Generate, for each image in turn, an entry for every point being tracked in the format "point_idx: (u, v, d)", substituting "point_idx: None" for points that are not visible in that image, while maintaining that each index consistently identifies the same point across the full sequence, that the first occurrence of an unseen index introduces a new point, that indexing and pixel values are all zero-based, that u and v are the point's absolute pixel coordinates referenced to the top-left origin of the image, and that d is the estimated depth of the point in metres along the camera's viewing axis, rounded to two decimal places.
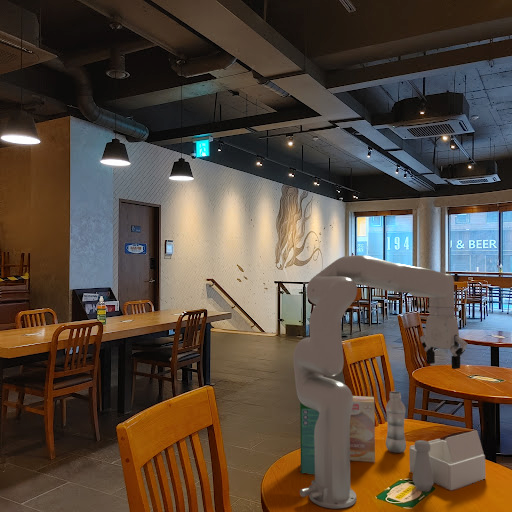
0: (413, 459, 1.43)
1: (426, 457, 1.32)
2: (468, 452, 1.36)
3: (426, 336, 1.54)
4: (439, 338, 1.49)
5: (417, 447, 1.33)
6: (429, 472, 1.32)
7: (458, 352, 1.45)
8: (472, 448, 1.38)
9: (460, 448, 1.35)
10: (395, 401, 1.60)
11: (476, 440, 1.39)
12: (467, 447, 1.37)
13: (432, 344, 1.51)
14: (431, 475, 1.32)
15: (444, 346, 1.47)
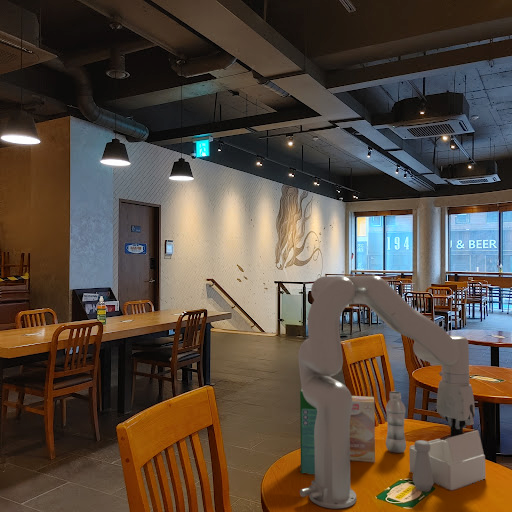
0: (413, 459, 1.43)
1: (426, 457, 1.32)
2: (468, 452, 1.36)
3: (438, 403, 1.42)
4: (453, 407, 1.37)
5: (417, 447, 1.33)
6: (429, 472, 1.32)
7: (461, 425, 1.37)
8: (472, 448, 1.37)
9: (461, 448, 1.35)
10: (395, 401, 1.60)
11: (477, 440, 1.39)
12: (467, 447, 1.37)
13: (445, 413, 1.40)
14: (431, 475, 1.32)
15: (458, 417, 1.36)
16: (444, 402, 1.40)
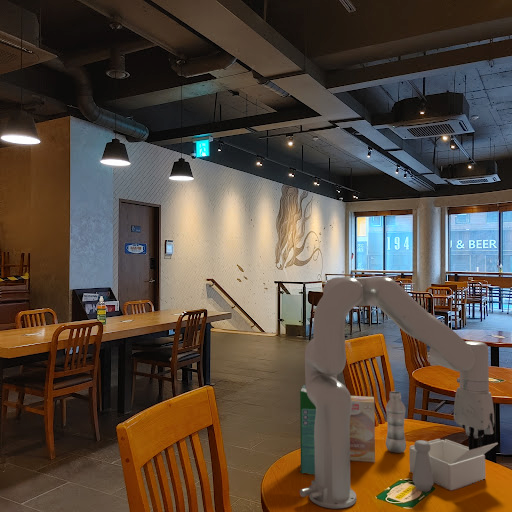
0: (413, 459, 1.43)
1: (426, 457, 1.32)
2: (472, 456, 1.35)
3: (455, 411, 1.37)
4: (472, 416, 1.32)
5: (417, 447, 1.33)
6: (429, 472, 1.32)
7: (479, 434, 1.32)
8: (479, 453, 1.36)
9: (469, 455, 1.33)
10: (395, 401, 1.60)
11: (489, 448, 1.36)
12: (475, 453, 1.34)
13: (463, 422, 1.34)
14: (431, 475, 1.32)
15: (478, 426, 1.30)
16: (462, 410, 1.35)
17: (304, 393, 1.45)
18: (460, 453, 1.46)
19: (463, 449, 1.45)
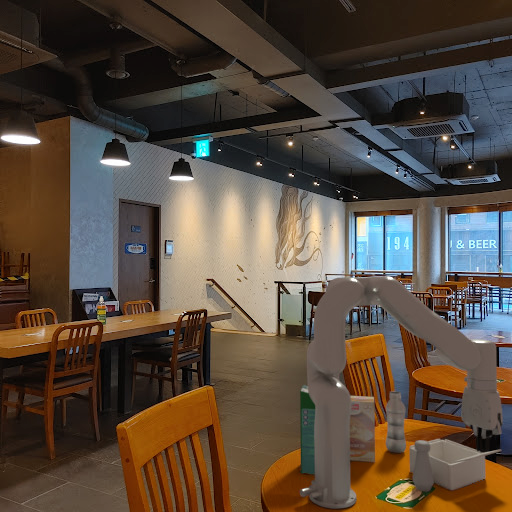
0: (413, 459, 1.43)
1: (426, 457, 1.32)
2: None
3: (463, 411, 1.34)
4: (479, 416, 1.30)
5: (417, 447, 1.33)
6: (429, 472, 1.32)
7: (487, 434, 1.30)
8: None
9: None
10: (395, 401, 1.60)
11: None
12: None
13: (470, 422, 1.32)
14: (431, 475, 1.32)
15: (485, 426, 1.28)
16: (469, 410, 1.32)
17: (304, 393, 1.45)
18: (460, 453, 1.46)
19: (463, 449, 1.45)
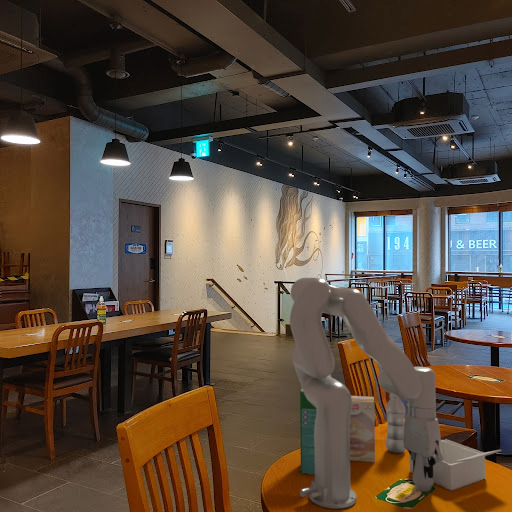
0: None
1: None
2: None
3: (404, 437, 1.36)
4: (418, 443, 1.32)
5: None
6: None
7: (430, 463, 1.31)
8: (480, 455, 1.35)
9: None
10: (395, 401, 1.60)
11: None
12: None
13: (411, 448, 1.34)
14: None
15: (424, 453, 1.30)
16: (410, 436, 1.34)
17: None
18: (460, 453, 1.46)
19: (463, 449, 1.45)
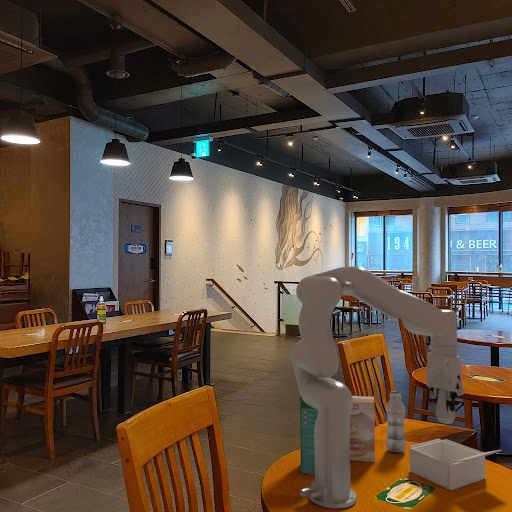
0: (413, 459, 1.43)
1: None
2: None
3: (427, 375, 1.45)
4: (441, 378, 1.41)
5: None
6: None
7: (452, 396, 1.40)
8: (480, 455, 1.35)
9: None
10: (395, 401, 1.60)
11: None
12: None
13: (434, 385, 1.43)
14: None
15: (446, 387, 1.39)
16: (433, 374, 1.44)
17: None
18: (460, 453, 1.46)
19: (463, 449, 1.45)
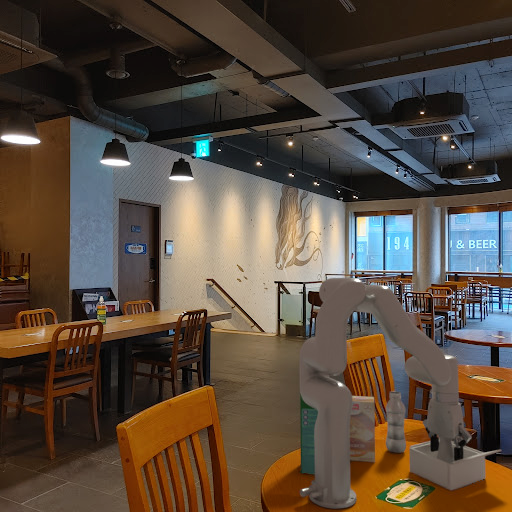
0: (413, 459, 1.43)
1: (449, 445, 1.41)
2: None
3: (428, 421, 1.45)
4: (442, 426, 1.40)
5: None
6: (452, 459, 1.40)
7: (461, 444, 1.37)
8: (480, 455, 1.35)
9: None
10: (395, 401, 1.60)
11: None
12: None
13: (435, 431, 1.43)
14: None
15: (448, 435, 1.39)
16: (434, 420, 1.43)
17: None
18: None
19: (463, 449, 1.45)
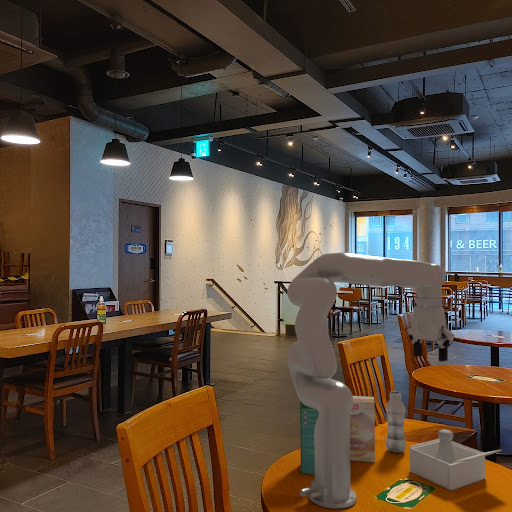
0: (413, 459, 1.43)
1: (449, 445, 1.41)
2: None
3: (413, 328, 1.50)
4: (426, 330, 1.45)
5: (440, 435, 1.42)
6: (452, 459, 1.40)
7: (445, 344, 1.41)
8: (480, 455, 1.35)
9: None
10: (395, 401, 1.60)
11: None
12: None
13: (419, 337, 1.47)
14: None
15: (431, 338, 1.43)
16: (418, 326, 1.48)
17: None
18: (460, 453, 1.46)
19: (463, 449, 1.45)
